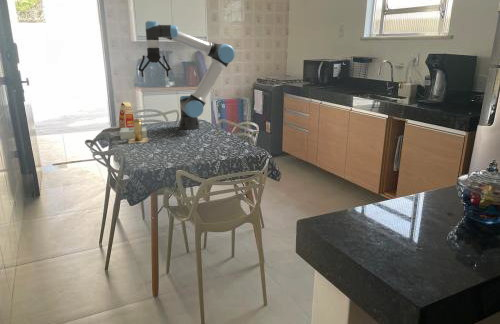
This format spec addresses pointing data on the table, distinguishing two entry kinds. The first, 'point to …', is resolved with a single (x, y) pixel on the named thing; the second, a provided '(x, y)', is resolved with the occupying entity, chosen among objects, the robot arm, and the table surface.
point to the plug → (137, 129)
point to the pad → (145, 140)
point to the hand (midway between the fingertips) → (155, 81)
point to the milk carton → (126, 115)
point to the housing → (131, 133)
